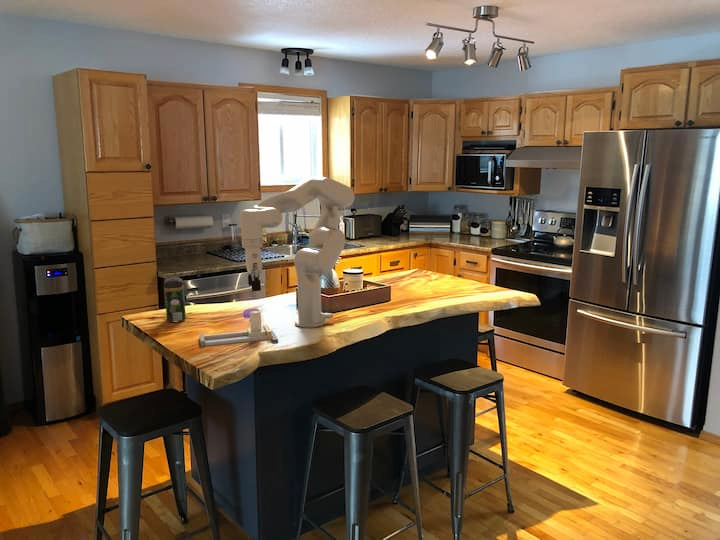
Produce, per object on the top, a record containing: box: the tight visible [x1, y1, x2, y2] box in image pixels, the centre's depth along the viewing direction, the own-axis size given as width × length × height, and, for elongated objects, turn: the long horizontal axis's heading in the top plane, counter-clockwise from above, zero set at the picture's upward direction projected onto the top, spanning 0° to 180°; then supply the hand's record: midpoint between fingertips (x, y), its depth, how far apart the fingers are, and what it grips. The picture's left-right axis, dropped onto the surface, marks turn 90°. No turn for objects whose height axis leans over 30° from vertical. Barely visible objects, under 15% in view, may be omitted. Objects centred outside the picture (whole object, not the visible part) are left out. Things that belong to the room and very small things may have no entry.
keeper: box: [246, 310, 266, 337], centre depth 224 cm, size 6×6×9 cm
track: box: [198, 324, 279, 348], centre depth 223 cm, size 28×12×4 cm, turn 108°
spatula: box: [243, 308, 260, 319], centre depth 251 cm, size 24×7×2 cm, turn 12°
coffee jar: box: [163, 276, 187, 322], centre depth 252 cm, size 10×8×19 cm
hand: (254, 288), depth 221 cm, fingers open, 9 cm apart
